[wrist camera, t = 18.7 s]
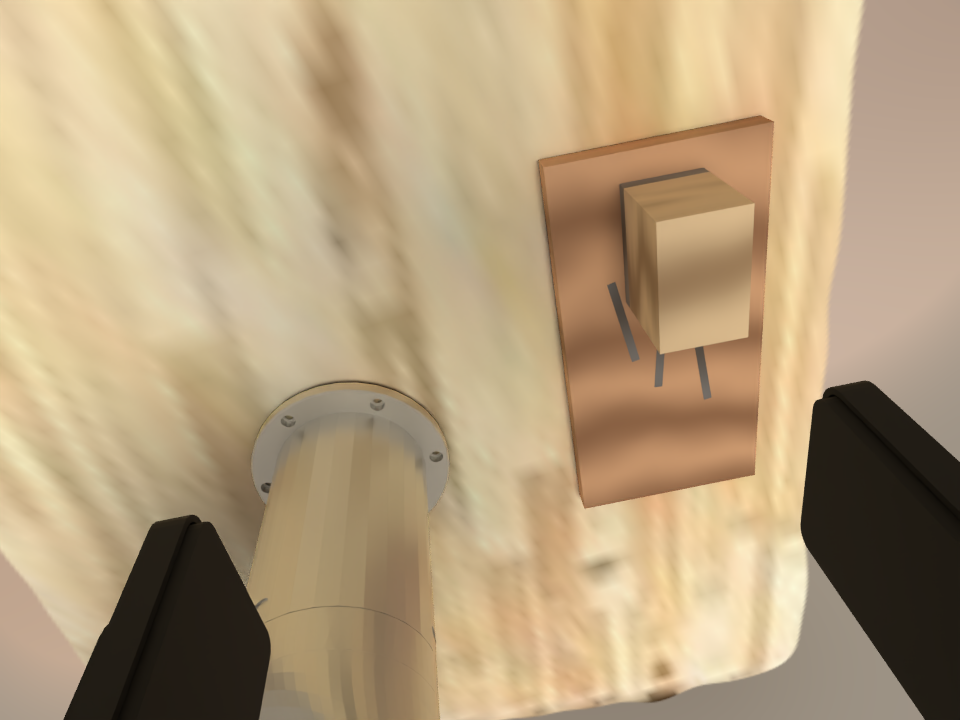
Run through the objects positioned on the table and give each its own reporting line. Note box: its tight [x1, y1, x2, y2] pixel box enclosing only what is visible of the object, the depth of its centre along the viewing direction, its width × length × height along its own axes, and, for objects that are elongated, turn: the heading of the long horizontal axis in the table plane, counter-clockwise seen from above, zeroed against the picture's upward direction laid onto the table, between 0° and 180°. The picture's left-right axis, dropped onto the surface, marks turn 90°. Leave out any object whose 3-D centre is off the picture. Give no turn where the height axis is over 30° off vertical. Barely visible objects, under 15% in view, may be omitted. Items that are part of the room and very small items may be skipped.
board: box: [538, 116, 774, 508], centre depth 42 cm, size 24×12×2 cm, turn 10°
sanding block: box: [619, 168, 755, 354], centre depth 35 cm, size 7×4×6 cm, turn 10°
